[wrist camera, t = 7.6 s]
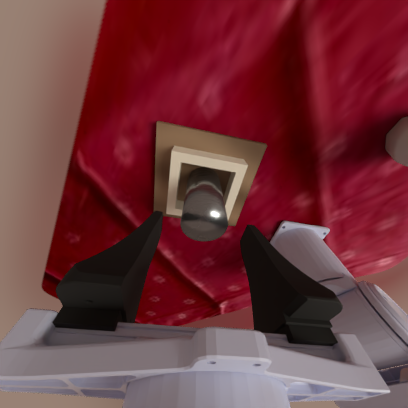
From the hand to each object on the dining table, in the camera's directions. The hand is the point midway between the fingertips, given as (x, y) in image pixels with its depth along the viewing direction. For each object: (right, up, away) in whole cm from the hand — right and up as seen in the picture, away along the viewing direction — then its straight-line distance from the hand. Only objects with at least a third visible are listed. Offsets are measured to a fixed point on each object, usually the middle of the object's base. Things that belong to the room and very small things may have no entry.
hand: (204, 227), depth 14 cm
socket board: (0, +5, +7) cm, 9 cm away
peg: (0, +5, +7) cm, 8 cm away
